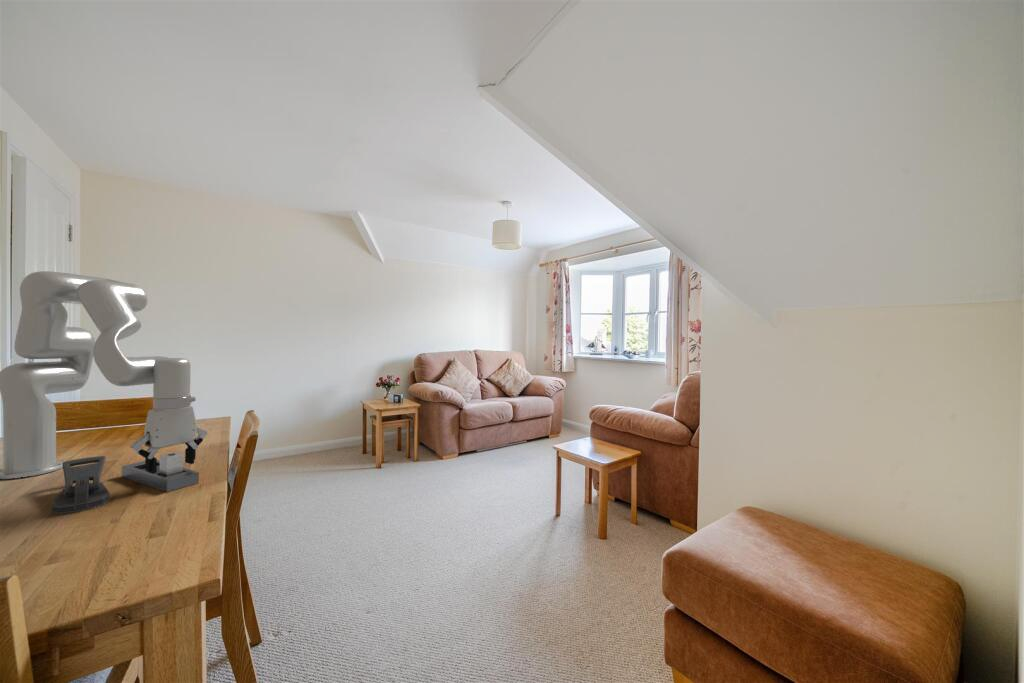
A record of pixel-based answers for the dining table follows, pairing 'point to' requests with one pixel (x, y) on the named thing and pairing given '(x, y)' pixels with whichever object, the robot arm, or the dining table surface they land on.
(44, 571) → the dining table surface
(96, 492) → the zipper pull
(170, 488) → the rail
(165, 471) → the grey tall square block
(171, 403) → the robot arm
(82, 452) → the dining table surface
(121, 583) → the dining table surface
